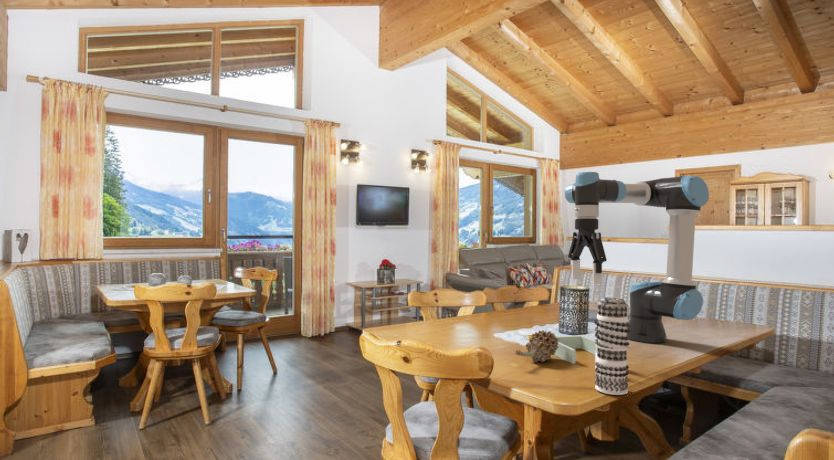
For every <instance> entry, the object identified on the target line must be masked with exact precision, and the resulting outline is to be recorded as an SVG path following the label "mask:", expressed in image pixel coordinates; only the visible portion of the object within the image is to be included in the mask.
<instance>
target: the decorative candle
mask: <svg viewBox="0 0 834 460" xmlns="http://www.w3.org/2000/svg"><path fill="white" fill-rule="evenodd" d="M596 304H597V314H596V319H595V320H594V322H593V323H594V324H595V328H594V331H595V333H594V336H595V338H596V339H595V341H596V342H595V343H596V347H597V362H596V363H595V362H594V364H595V365H596V366H597V368H596V369H595V368H594V370H595V372H596V373H595V375H594V377H595V378H594V379H595V381H594V384H595V386H594V388H595V390H596V391H598V392H601V393H602V394H606V395H613V396H614V395H615V396H623V395H627V394H628V393H629V390H628V388H629V384H628V383H629V377H628V376H629V371H628V370H629V365H628V358H627V356H628V353H627V352H628V350H629V349H630V348H629V346H630V342H628V341H629V340H630V338H629V337H628V336H627V333H629V332H630V330H629V329H628V328H627V327H630V324H629V316H628V307H629V304H627V303H626V301H625V300H624V299H623V298H621V297H620V298H619V297H603V298H601V299H600V300H599V301H598V302H596ZM595 365H594V366H595Z"/></svg>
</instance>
